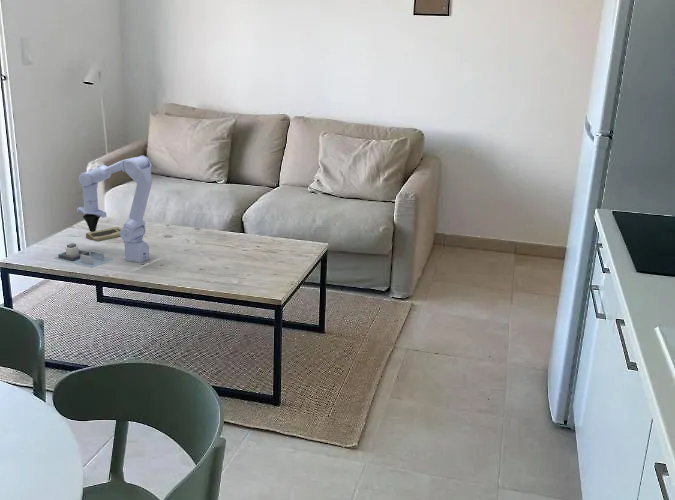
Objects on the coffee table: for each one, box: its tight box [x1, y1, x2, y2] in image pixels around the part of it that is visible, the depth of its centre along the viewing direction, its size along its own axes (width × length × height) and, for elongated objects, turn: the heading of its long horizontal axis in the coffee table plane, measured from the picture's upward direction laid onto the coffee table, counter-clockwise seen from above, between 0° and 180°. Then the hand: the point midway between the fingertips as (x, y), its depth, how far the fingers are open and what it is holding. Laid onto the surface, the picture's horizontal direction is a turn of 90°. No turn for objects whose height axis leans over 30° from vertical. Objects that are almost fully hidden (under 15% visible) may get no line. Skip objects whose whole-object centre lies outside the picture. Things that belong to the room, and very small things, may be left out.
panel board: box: [53, 253, 113, 269], centre depth 297 cm, size 21×12×1 cm, turn 64°
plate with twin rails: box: [80, 250, 105, 265], centre depth 295 cm, size 6×7×3 cm
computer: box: [85, 226, 122, 242], centre depth 328 cm, size 16×8×3 cm, turn 135°
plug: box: [65, 242, 79, 256], centre depth 298 cm, size 3×4×6 cm
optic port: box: [57, 248, 90, 261], centre depth 299 cm, size 8×9×2 cm
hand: (92, 231), depth 304 cm, fingers closed
